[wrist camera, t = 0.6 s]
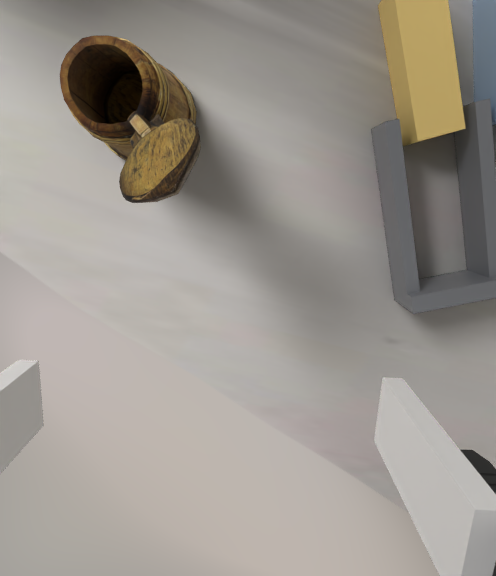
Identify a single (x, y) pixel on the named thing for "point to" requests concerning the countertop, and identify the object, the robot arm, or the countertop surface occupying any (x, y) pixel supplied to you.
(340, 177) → the countertop surface
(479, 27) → the bar blue
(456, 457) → the robot arm
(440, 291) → the comb rack
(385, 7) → the bar ochre
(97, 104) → the wooden mug
